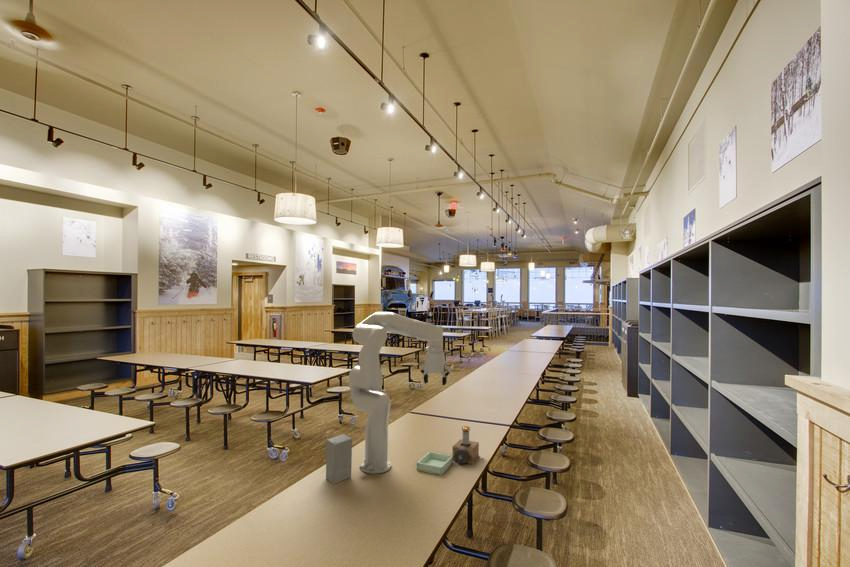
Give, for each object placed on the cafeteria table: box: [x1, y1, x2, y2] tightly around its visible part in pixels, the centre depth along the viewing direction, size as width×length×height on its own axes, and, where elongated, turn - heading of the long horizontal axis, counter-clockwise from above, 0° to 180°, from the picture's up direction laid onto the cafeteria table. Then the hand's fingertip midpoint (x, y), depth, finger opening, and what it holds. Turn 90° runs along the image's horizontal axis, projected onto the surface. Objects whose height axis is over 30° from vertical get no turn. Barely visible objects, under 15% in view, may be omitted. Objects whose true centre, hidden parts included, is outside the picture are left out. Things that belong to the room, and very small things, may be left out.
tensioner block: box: [452, 439, 480, 465], centre depth 171 cm, size 13×9×6 cm
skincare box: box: [325, 433, 353, 485], centre depth 152 cm, size 8×7×16 cm
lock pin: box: [461, 425, 471, 447], centre depth 173 cm, size 4×4×14 cm
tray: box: [416, 451, 454, 476], centre depth 163 cm, size 13×11×3 cm
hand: (435, 383), depth 194 cm, fingers open, 9 cm apart
